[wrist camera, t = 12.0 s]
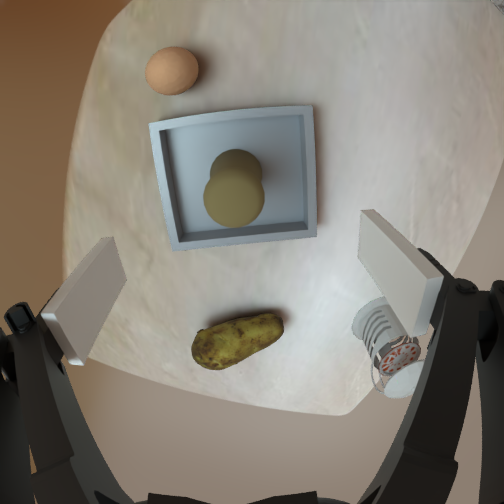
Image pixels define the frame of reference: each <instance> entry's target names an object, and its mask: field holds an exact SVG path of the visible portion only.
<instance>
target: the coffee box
mask: <svg viewBox="0 0 504 504" xmlns="http://www.w3.org/2000/svg"><path fill="white" fill-rule="evenodd" d="M491 1H492V2H493V3H494V4H495V5H496V7H497V8H498V9H499V10H500V11H501V12H502V13H503V14H504V0H491Z"/></svg>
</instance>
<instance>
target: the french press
mask: <svg viewBox="0 0 504 504" xmlns="http://www.w3.org/2000/svg"><path fill="white" fill-rule="evenodd" d="M352 331H353V334H354V335H355V336H356V337H357V338H358V339H360V340H363V342H364V344H365V346H366V349H367V351H368V353H369V355H370V357H371V360H372V365H371V377H372V382H373V384H374V387H375V389H376V390H377V391H378V392H379V393H381V394H385V395H386V396H387V397H389V398H405V397H407V396H409V395H411V394H414V391H415V388H416V385H417V383H418V380H419V377H420V374H421V371H422V368H423V365H424V361H425V360H424V359H423V360H418V357H419V355H420V352H421V348H420V346H419V345H418V339H417V338H416V337H413V343H412V342H411V338H410V337H409V343H406V342H407V340H408V334H407V332H406V330H405V329H404V327H403V325H402V324H401V322H400V320H399V319H398V317H397V316H396V314H395V312H394V311H393V309H392V308H391V306H390V305H389V303H388V301H387V300H386V298H385V297H380V298H378V299H375V300H373V301H370V302H369V303H368V304H366V305H365V306H364V307H362V308H361V309H360V310H359V312H358V313H357V315H356V316H355V317H354V320H353V324H352ZM404 335H406V338H405V339H404V341H403V343H402V344H400V345H399V346H396V347H394V348H391V346H392V345H395V344H397V343H398V342H400V341H401V340H402V339H403V337H404ZM400 336H401V337H400ZM397 337H400V338H399V339H397V340H396V341H394V342H391V343H389V341H390V340H393V339H395V338H397ZM370 341H371V342H370ZM373 342H374V344H375V345H374V348H373V347H372V344H373ZM377 352H379V354H380V356H381V361H380V362H379V360H378V358H377V356H376V353H377ZM417 360H418V361H417ZM373 364H374V366H375V367H376V368H377V369H378V370H379V377H380V382H381V384H382V386H383V388H384V392H381V391H379V390H378V388H377V387H376V385H375V382H374V379H373V373H372V370H373ZM381 374H382V375H383V376H391V377H390V378H389V380H388V381H387V383H386V385H385V387H384V384H383V382H382V379H381Z"/></svg>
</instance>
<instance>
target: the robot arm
mask: <svg viewBox="0 0 504 504" xmlns="http://www.w3.org/2000/svg"><path fill="white" fill-rule="evenodd" d="M358 258H359V260H360V261H361V263H362V264H363V265H364V267H365V268H366V270H367V271H368V273H369V274H370V276H371V277H372V279H373V280H374V282H375V283H376V285H377V286H378V288H379V289H380V291H381V292H382V294H383V295H384V297H385V298H386V300H387V301H388V303H389V305H390V306H391V308H392V309H393V311H394V312H395V314H396V316H397V317H398V319H399V320H400V322H401V324H402V325H403V327H404V329H405V330H406V332H407V334H408V335H409V337H410V338H413V337H417V336H421V335H425V334H426V332H427V329H428V327H429V324H430V323H431V325H432V326H433V328H434V332H433V335H432V337H431V340H430V342H429V345H428V347H427V349H428V352H427V355H426V358H425V361H424V365H423V368H422V371H421V374H420V377H419V380H418V383H417V385H416V388H415V391H414V394H413V396H412V399H411V402H410V404H409V407H408V409H407V412H406V414H405V416H404V419H403V421H402V424H401V426H400V428H399V430H398V433H397V435H396V437H395V439H394V441H393V443H392V445H391V448H390V450H389V452H388V454H387V455H386V458H385V459H384V462H383V463H382V465H381V467H380V469H379V471H378V473H377V474H376V476H375V478H374V479H373V481H372V483H371V484H370V485H369V487H368V488H367V490H366V491H365V493H364V494H363V496H362V497H361V499H360V500H359V502H358V503H357V504H445V503H446V500H447V498H448V496H449V493H450V491H451V488H452V485H453V482H454V480H455V477H456V474H457V470H458V462H456V461H455V460H454V456H455V452H456V449H457V445H458V441H459V438H460V434H461V431H462V427H463V423H464V419H465V415H466V410H467V406H468V401H469V396H470V390H471V384H472V378H473V371H474V364H475V357H476V363H477V370H478V378H479V387H480V398H481V413H482V467H481V481H480V491H479V504H504V281H502V280H497V281H494V282H493V284H492V287H491V290H490V291H479V290H478V288H477V286H476V285H475V284H473V283H472V282H471V281H468V280H466V279H461V278H457V279H455V278H454V277H453V276H452V275H451V274H450V273H449V272H448V271H447V270H446V269H445V268H444V267H443V266H442V265H440V263H439V262H438V261H437V260H435V258H434V257H433V256H432V255H431V254H430V253H428V252H426V251H424V250H423V249H421V248H417V249H416V248H415V247H414V246H413V245H412V244H411V243H410V242H409V241H408V240H407V239H406V238H405V237H404V236H403V235H402V234H401V233H400V232H398V231H397V230H396V229H395V228H394V227H393V226H392V225H391V224H390V223H389V222H387V221H386V220H385V219H384V218H383V217H382V216H381V215H380V214H378V213H377V212H376V211H375V210H374V209H372V210H361V214H360V232H359V246H358ZM126 281H127V278H126V275H125V272H124V269H123V266H122V263H121V260H120V257H119V253H118V250H117V247H116V244H115V240H114V237H106V238H101V239H100V241H99V242H98V243H97V244H96V245H95V246H94V247H93V248H92V250H91V251H90V252H89V253H88V254H87V255H86V257H85V258H84V259H83V260H82V261H81V262H80V264H79V265H78V266H77V267H76V268H75V270H74V271H73V272H72V273H71V274H70V276H69V277H68V278H67V279H66V281H65V282H64V283H63V284H62V286H61V287H60V288H58V289H57V290H56V291H55V293H54V294H53V295H52V296H51V298H50V299H49V300H48V302H47V304H45V305H44V307H43V308H42V309H41V311H40V312H39V314H38V315H37V316H36V318H35V317H34V315H33V313H32V311H31V309H30V307H29V306H28V304H27V303H26V302H20V303H17V304H15V305H13V306H12V307H11V308H10V309H8V310H7V312H6V313H5V315H4V319H5V321H6V322H7V324H8V326H9V327H10V329H11V331H12V333H13V334H11V335H7V336H6V335H5V333H4V332H3V330H2V328H1V327H0V504H35V499H34V495H35V498H36V500H37V503H38V504H210V503H206V502H202V501H198V500H195V499H191V498H188V497H180V496H169V495H161V494H153V493H149V494H148V500H146V501H141V502H136V503H134V502H133V500H132V499H131V498H130V497H129V496H128V495H127V494H126V493H125V492H124V491H123V490H122V489H121V487H120V486H119V484H118V482H117V481H116V479H115V477H114V476H113V474H112V472H111V470H110V469H109V467H108V465H107V463H106V461H105V460H104V458H103V456H102V454H101V452H100V450H99V448H98V447H97V444H96V442H95V440H94V438H93V436H92V434H91V432H90V430H89V427H88V425H87V423H86V421H85V418H84V416H83V414H82V412H81V409H80V407H79V404H78V402H77V399H76V397H75V394H74V392H73V389H72V386H71V383H70V381H69V378H68V375H67V372H66V369H65V366H64V365H63V363H62V362H61V359H62V357H63V355H65V357H66V358H67V360H68V361H69V363H70V364H76V365H84V364H85V361H86V359H87V357H88V355H89V353H90V351H91V349H92V346H93V344H94V342H95V340H96V338H97V336H98V334H99V332H100V330H101V328H102V326H103V324H104V322H105V320H106V318H107V316H108V314H109V312H110V310H111V309H112V307H113V305H114V303H115V301H116V299H117V297H118V295H119V294H120V292H121V290H122V288H123V286H124V284H125V283H126ZM2 373H3V374H4V375H5V377H6V380H4V378H3V375H2ZM29 445H30V448H31V452H32V456H33V459H34V462H35V465H36V469H37V472H36V473H33V474H31V466H30V453H29ZM33 492H34V493H33ZM249 504H349V503H347V502H344V501H339V500H335V499H330V498H318V497H317V493H316V491H312V492H306V493H299V494H291V495H283V496H273V497H270V498H267V499H263V500H260V501H256V502H253V503H249Z"/></svg>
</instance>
